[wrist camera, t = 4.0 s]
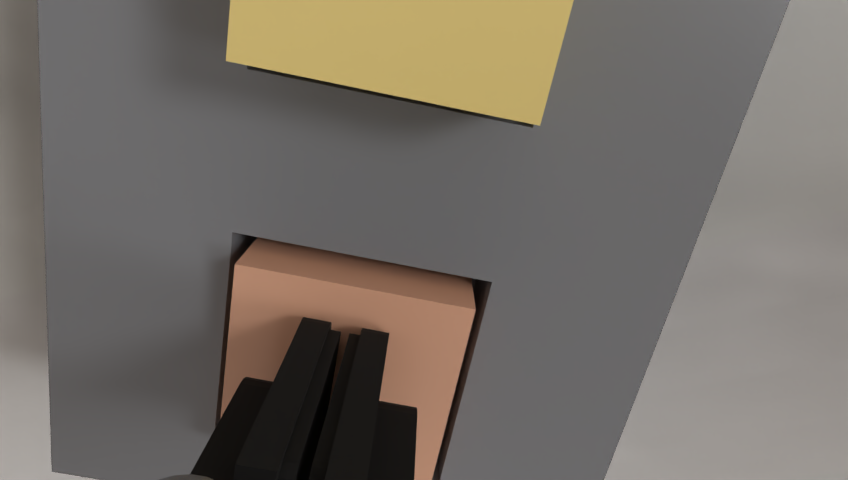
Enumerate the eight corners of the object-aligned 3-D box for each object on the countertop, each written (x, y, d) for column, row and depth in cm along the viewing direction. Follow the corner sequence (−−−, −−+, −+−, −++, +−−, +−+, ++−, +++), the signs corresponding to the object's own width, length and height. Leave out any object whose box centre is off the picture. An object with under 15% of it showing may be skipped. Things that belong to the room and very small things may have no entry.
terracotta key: (469, 263, 13) (475, 309, 11) (428, 427, 14) (428, 495, 12) (268, 224, 12) (234, 264, 10) (249, 395, 14) (216, 458, 12)
